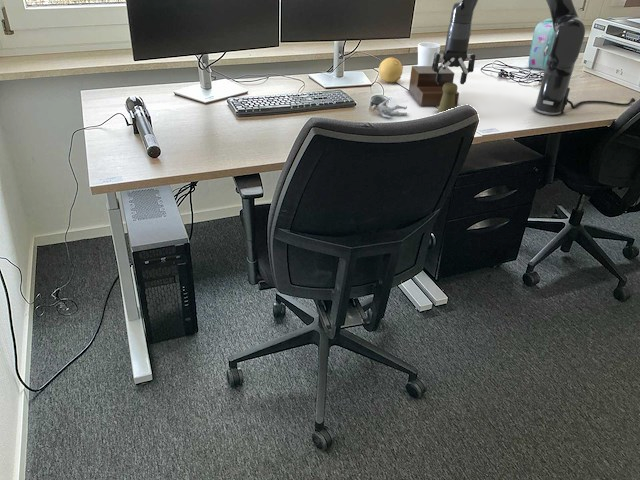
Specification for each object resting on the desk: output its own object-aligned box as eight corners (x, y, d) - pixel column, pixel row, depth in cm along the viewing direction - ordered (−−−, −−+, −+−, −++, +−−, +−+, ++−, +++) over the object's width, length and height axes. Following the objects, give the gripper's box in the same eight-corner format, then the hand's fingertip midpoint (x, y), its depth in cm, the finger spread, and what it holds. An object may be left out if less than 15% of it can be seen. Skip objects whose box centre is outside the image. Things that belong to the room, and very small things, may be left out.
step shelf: (456, 106, 204) (461, 79, 199) (420, 106, 202) (424, 79, 197) (442, 91, 219) (446, 66, 213) (408, 91, 217) (411, 66, 212)
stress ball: (390, 86, 221) (392, 62, 216) (372, 81, 227) (374, 56, 222) (406, 82, 227) (409, 58, 221) (388, 77, 233) (391, 53, 227)
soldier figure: (407, 121, 191) (377, 112, 187) (399, 126, 196) (370, 118, 191) (408, 101, 193) (378, 92, 189) (400, 107, 198) (371, 98, 193)
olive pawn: (456, 113, 197) (462, 83, 191) (450, 117, 193) (455, 87, 187) (441, 109, 200) (445, 80, 194) (434, 114, 196) (439, 83, 190)
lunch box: (546, 73, 246) (559, 24, 234) (523, 69, 250) (535, 20, 238) (560, 61, 265) (572, 15, 253) (538, 58, 269) (550, 12, 257)
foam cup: (420, 71, 242) (424, 41, 235) (439, 75, 238) (444, 44, 231) (410, 75, 236) (414, 44, 228) (429, 80, 231) (434, 48, 224)
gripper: (474, 33, 186) (465, 80, 195) (434, 32, 184) (427, 80, 193) (482, 38, 180) (473, 87, 189) (441, 38, 178) (433, 87, 187)
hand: (450, 83), depth 191 cm, fingers open, 8 cm apart
